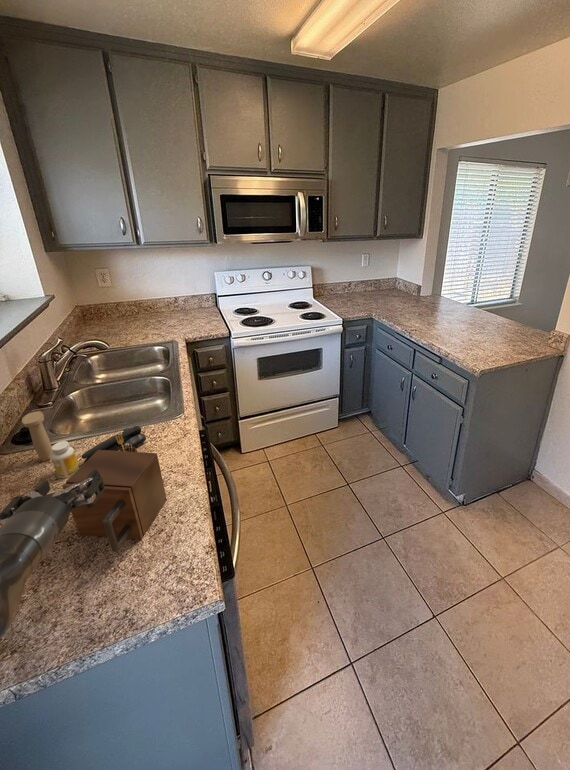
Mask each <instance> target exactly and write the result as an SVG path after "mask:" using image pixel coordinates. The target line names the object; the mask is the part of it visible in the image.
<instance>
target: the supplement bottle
mask: <svg viewBox="0 0 570 770" xmlns="http://www.w3.org/2000/svg"><path fill="white" fill-rule="evenodd" d="M51 447H52V452H53V453H52V455H51V461H52V464H53V467H54V469H55V473H56V476H57V478H60V479H67V478H70V477H71V476H72V475H73V474H74V473H75V472H76V471H77V470H78V469H79V468H80V465H79V462H78V458H77V456H76V453H75V452H76V451H75V450H74V448H73V447H71V445H70V443H69V442H68V440H61V441H58V442H56V443H54V444H53V445H51Z"/></svg>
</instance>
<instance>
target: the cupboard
mask: <svg viewBox="0 0 570 770" xmlns="http://www.w3.org/2000/svg"><path fill="white" fill-rule="evenodd" d="M159 461H160V460H159V458H158V453H157V452H144V451H143V452H142V451H137V452H128V451H120V450H113V451H111V450H97V451H96V452H95V453H94V454H93V455H92V456H91V457H90V458H89V459H88V460H87V461H86V462H85V463H84V462H83V464H82V465H81V466H79V469H78V470H77V471H76V472H75V473H74V474H73V475H72V476H70V477H68V479H67V480H66V481H65V483H66V484H75V483H81V482H83V481H84V480H86V478H87V477H88V475H89V474H90V472H91V471H92V470H95V469H97V471H99V474H100V477H102V478H103V482H104V486H111V487H125V488H131V491H132V495H133V499H134V502H135V506H136V510H137V514H138V518H139V522H140V526H141V529H142V533H143V537H145V536H146V535H147V533H148V531H149V530H148V529H150V528H151V526H152V525H153V523H154V521H155V520H156V518H158V517H157V516H158V515H159V513H160V512H161V510H162V509H163V507H164V505H165V504H166V502H167V499H168V498H167V494H166V489H165V486H164V480H163V475H162V471H161V466H160V462H159ZM146 532H147V533H146ZM144 535H145V536H144Z"/></svg>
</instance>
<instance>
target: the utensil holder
mask: <svg viewBox="0 0 570 770" xmlns="http://www.w3.org/2000/svg"><path fill="white" fill-rule="evenodd" d="M118 433H120V436H121V439H120V436H119V434H118ZM118 433H117V434H114V436H116V439H117V442H118V444H121V449H120V450H119V451H128V452H138V449H137V447H136V448H135V447H132V446H131V447H129V446H128V447H125V448H124V447H123V445H122V443H123V442H124V440H123V438H122V435H121V431H119V432H118ZM117 435H118V438H119V441H118V438H117ZM128 444H129V443H128ZM126 445H127V444H126ZM129 445H130V444H129Z"/></svg>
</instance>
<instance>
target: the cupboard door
mask: <svg viewBox="0 0 570 770" xmlns="http://www.w3.org/2000/svg"><path fill="white" fill-rule="evenodd" d="M71 485H73V484H66V482H65V483H63V484H62V486H61V487H62V489H63V490H64V489H66V488H68V487H69V486H71ZM63 490H62V491H63ZM86 490H87V485H86V486H84V487H83V492H84V491H86ZM71 493H72V494H74V495H75V496H76V494H75V490H73V491H72V492H71ZM71 516H72V518H73V520H74V524H75V526H76V529H77V533H78V535H79V536H87V537H98V538H99V537H100V538H107V541H108V542H109V546H110V549H111V552H112V553H116V552H118V551H119V550H120V548H121V546H122V545H124V542H125V541H126V539H127V540H136V539H142V538H143V539H144V536H143V533H142V529H141V526H140V522H139V518H138V514H137V510H136V506H135V502H134V499H133V495H132V491H131V488H125V487H111V486H105V490H104V492H103V493H102V495H101V496H100V498H99V499H98V500H97V502H96V503H95V505H94V506H92V507H90V508H87V506H86V504H83V505H79V506H77V507H76V508H75V509H74V510H73V511H72V512H71ZM143 539H142V540H143Z"/></svg>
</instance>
